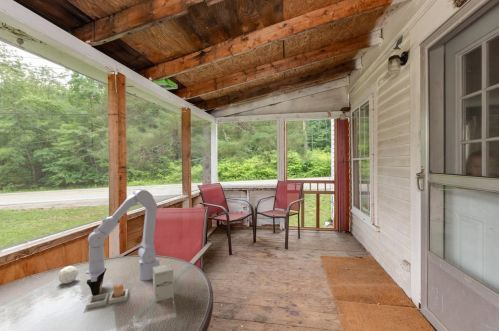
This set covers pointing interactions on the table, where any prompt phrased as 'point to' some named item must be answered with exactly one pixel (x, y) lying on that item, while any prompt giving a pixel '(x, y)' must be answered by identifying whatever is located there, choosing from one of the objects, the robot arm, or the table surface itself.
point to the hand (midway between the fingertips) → (97, 290)
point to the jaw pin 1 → (100, 287)
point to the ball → (68, 274)
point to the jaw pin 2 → (118, 290)
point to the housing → (106, 301)
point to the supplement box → (163, 282)
